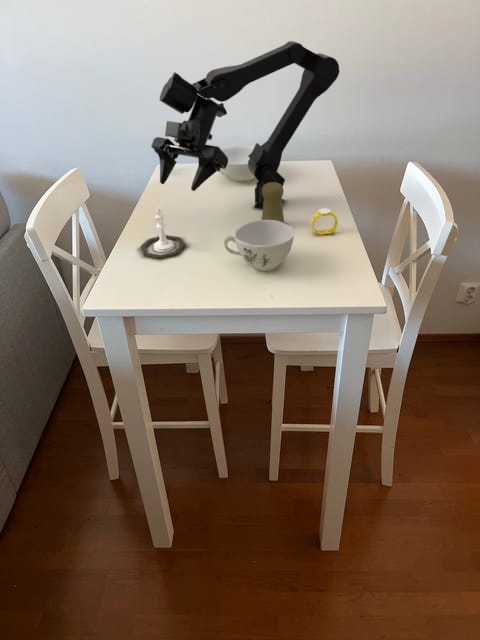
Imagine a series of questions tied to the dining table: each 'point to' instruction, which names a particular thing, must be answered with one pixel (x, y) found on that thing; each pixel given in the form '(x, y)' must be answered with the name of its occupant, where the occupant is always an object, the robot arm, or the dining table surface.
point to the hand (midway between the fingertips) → (176, 186)
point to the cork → (272, 202)
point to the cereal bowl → (238, 163)
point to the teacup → (262, 243)
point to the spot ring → (162, 254)
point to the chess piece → (162, 235)
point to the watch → (324, 213)
